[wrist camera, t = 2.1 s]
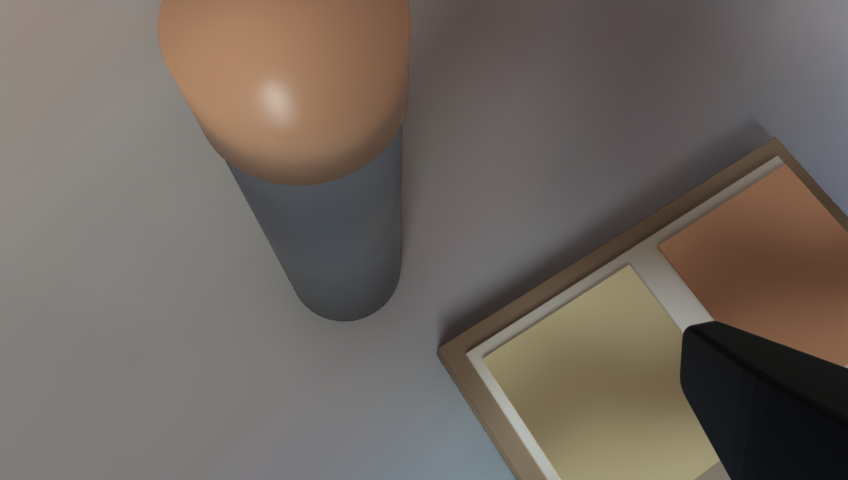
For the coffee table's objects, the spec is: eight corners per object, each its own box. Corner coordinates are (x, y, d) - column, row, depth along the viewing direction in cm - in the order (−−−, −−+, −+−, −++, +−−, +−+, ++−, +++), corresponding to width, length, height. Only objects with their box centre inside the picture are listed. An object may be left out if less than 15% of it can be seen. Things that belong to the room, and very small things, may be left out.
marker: (424, 285, 22) (457, 53, 10) (323, 346, 21) (228, 171, 9) (366, 195, 23) (332, -112, 11) (267, 249, 22) (117, -20, 10)
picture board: (1124, 562, 19) (1175, 567, 18) (780, 895, 16) (813, 930, 15) (760, 150, 24) (780, 132, 23) (436, 354, 21) (439, 346, 20)
